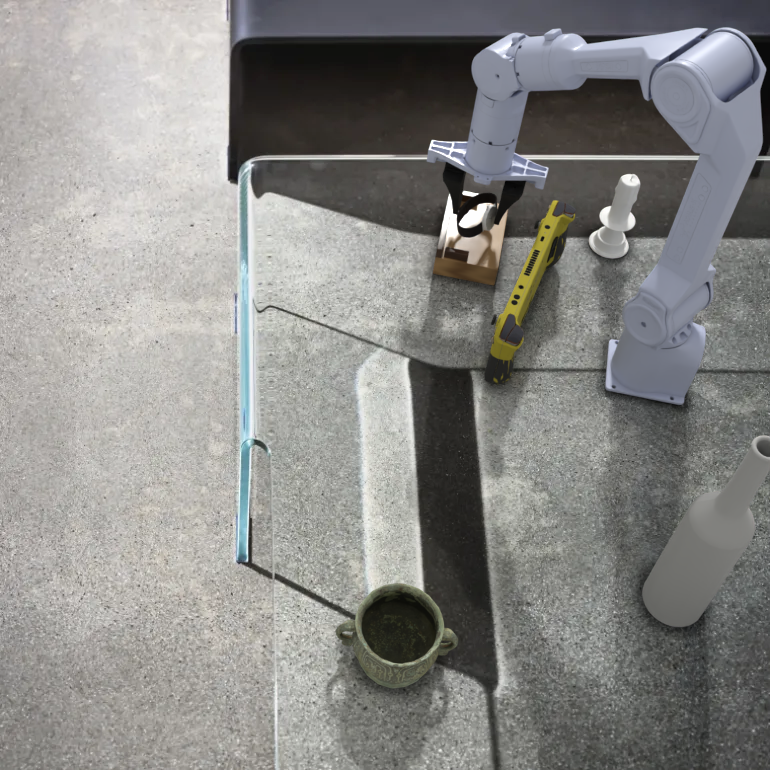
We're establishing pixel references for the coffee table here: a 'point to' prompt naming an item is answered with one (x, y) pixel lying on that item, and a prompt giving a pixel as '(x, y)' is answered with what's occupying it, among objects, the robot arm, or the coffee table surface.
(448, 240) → the shelf
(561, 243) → the yellow power tool
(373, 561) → the coffee table surface
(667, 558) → the bottle
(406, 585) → the vessel
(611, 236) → the candle
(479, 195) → the watch
